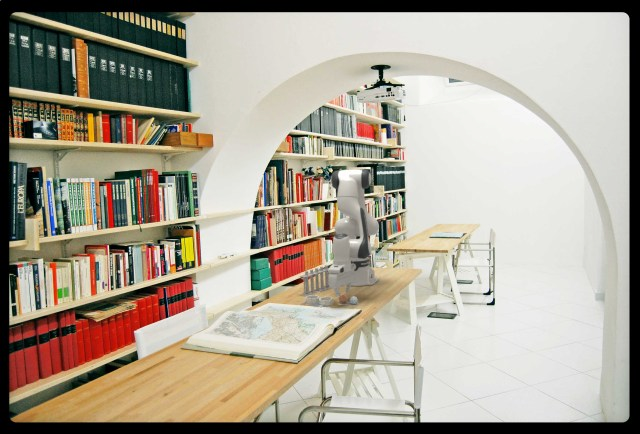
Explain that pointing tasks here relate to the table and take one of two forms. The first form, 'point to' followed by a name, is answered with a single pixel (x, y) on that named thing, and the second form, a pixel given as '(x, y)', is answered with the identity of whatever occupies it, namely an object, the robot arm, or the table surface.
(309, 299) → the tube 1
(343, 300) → the ball terracotta
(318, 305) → the card
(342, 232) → the robot arm
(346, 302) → the grey mat
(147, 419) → the table surface
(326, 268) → the test tube rack
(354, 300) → the ball bluegrey
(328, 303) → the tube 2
